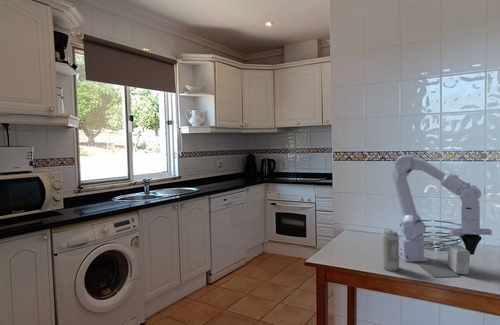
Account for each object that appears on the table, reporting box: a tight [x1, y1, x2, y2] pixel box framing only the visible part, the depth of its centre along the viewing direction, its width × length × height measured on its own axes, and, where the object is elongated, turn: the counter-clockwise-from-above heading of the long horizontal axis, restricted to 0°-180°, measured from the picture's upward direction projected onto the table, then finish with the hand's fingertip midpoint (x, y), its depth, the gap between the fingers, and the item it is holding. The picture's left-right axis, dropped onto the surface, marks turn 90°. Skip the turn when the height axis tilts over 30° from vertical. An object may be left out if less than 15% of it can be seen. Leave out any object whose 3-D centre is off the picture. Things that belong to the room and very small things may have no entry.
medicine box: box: [447, 244, 471, 275], centre depth 122 cm, size 8×4×9 cm, turn 169°
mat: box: [419, 264, 461, 279], centre depth 123 cm, size 9×11×1 cm
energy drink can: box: [381, 229, 400, 272], centre depth 127 cm, size 6×6×15 cm
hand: (470, 253), depth 122 cm, fingers closed
